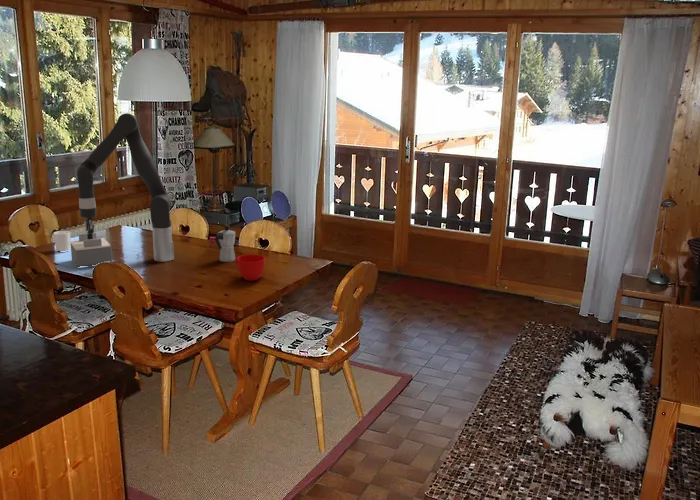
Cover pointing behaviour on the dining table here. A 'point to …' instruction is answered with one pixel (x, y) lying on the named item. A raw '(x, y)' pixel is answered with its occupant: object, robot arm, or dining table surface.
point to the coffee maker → (226, 244)
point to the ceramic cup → (250, 266)
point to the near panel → (81, 246)
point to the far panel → (84, 237)
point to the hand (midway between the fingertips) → (90, 241)
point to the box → (90, 256)
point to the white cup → (62, 240)
